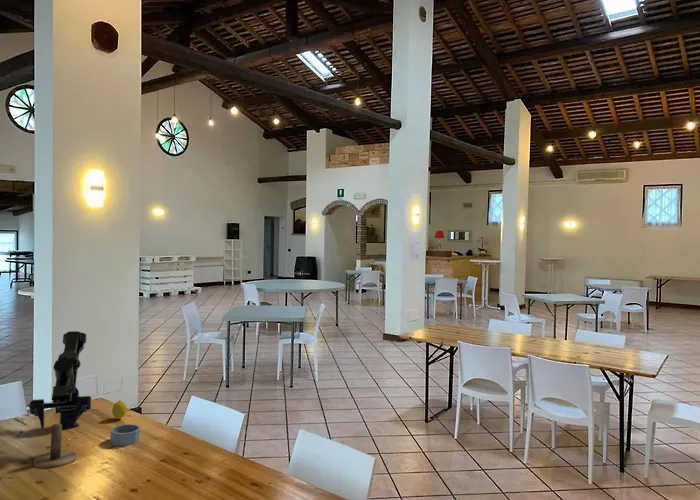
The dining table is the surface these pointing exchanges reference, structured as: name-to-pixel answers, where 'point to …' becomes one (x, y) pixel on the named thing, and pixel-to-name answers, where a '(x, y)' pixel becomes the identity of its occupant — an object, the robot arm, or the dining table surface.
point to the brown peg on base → (55, 452)
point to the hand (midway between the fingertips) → (57, 427)
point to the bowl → (125, 435)
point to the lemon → (119, 409)
